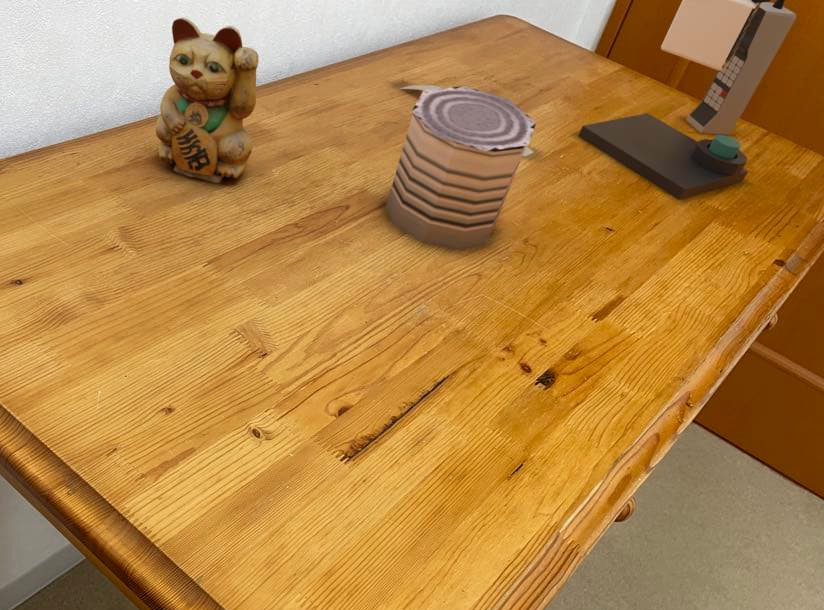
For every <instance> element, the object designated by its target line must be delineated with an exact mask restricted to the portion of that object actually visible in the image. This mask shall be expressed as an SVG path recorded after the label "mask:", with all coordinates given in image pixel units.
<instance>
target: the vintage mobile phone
mask: <svg viewBox="0 0 824 610" xmlns="http://www.w3.org/2000/svg"><path fill="white" fill-rule="evenodd" d="M785 1H786V0H776V1H775V2H770V1H769V2H763V3H761V4H760V6H759V8H758V10H757V12H756V14H755V16H754V18H753V20H752V21H751V23H750V25H749V27H748V29H747V31H746V33H745V35H744V37H743V39H742V40H741V42H740V44H739V46H738V48H737V50H736V52H735V54H734V55H733V57H732V58H731V59H730V61H729V62H728V63H727V64H726V66H725V67H724V68H723V69H722V70H721V71H719V70H717V72H716V73H715V75H714V78H713V80H711V83H710V85H709V87H708V89H707V90H706V92H705V95H704V97H703V98H702V100H701V102H700V103H699V104H698V105H697V106H696V107H695V108H694V109H693V110H692V111H691V112H690V113H689V114H688V116H687V117H686V120H685V121H686V122H687V123H688V124H690V125H691V126H692V127H693V128H695V129H696V130H697V131H698V132H699V133H700V134H712V135H725V136H728V135H729V136H730V135H731V133H732V132H733V131H734V129H735V127H736V125H737V123H738V122H739V119H740V118H741V116H742V114H743V113H744V111H745V109H746V107H747V106H748V104H749V102H750V100H751V98H752V97H753V95H754V94H755V91H756V89H757V88H758V86H759V84H760V83H761V81H762V79H763V77H764V76H765V74H766V72H767V70H768V68H769V67H770V66H771V63H772V61H773V60H774V58H775V56H776V55H777V53H778V51H779V50H780V48H781V46H782V44H783V42H784V40H785V39H786V37H787V35H788V34H789V31H790V30H791V28H792V26H793V24H794V23H795V21H796V19H797V14H796V13H794V12H793V11H791V10H790V9H789V8H787V7H785V6H784V4H785Z"/></svg>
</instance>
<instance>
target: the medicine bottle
mask: <svg viewBox="0 0 824 610" xmlns="http://www.w3.org/2000/svg"><path fill="white" fill-rule="evenodd" d="M760 4H761V3H755V2H753V1H752V0H682V1H681V2H680V5H679V7H678V9H677V11H676V13H675V16H674V18H673V20H672V22H671V24H670V26H669V29H668V31H667V33H666V35H665V37H664V40H663V42H662V44H661V46H660V50H661V51H663V52H666V53H669V54H672V55H675V56H677V57H679V58H683V59H685V60H689V61H691V62H694V63H696V64H699V65H702V66H705V67H707V68H710V69H712V70H716V71H718V70H719V71H721V70H722V69H723V68H724V67H725V66H726V64H727V63H728V62H729V61H730V59H731V58H732V57H733V55H734V54H735V52H736V50H737V48H738V46H739V44H740V42H741V40H742V39H743V37H744V35H745V33H746V31H747V29H748V27H749V25H750V23H751V21H752V20H753V18H754V16H755V14H756V12H757V10H758V8H759V6H760Z"/></svg>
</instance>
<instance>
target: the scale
mask: <svg viewBox="0 0 824 610" xmlns="http://www.w3.org/2000/svg"><path fill="white" fill-rule="evenodd" d="M577 136H578V138H580V139H582V140H583V141H584V142H587V143H588V144H589V145H591V146H593V147H595V148H596V149H598V150H599V151H601V152H602V153H604V154H606V155H607V156H609V157H610V158H611V159H613V160H615V161H616V162H618V163H619V164H621V165H622V166H624V167H626V168H628V169H629V170H630V171H632V172H634V173H636V174H638V175H639V176H641V177H642V178H644V179H645V180H647V181H648V182H650V183H652V184H653V185H655V186H656V187H658V188H660V189H661V190H663V191H664V192H666V193H667V194H669V195H671V196H672V197H673V198H675V199H677V200H678V201H680V200H685V199H687V198H690V197H693V196H698V195H700V194H704V193H708V192H711V191H715V190H718V189H722V188H725V187H728V186H731V185H735V184H739V183H742V182H743V181H744V180H745V178H746V176H747V175H748V173H749V170H748V169H746V168H745V166H746V164H747V161H748V157H747V156H746V155H745V153H744V152H742V150H740V149H739V150H738V152H737V154H736V156H735V157H734V159H727V158H724V157H721V156H718V155H716V154H714V153H712V152H711V151H710V150H709V149H708V148H709V147H710V145H711V143H712V141H713V139H709V138H703V139H699V140H698V141H697V140H695V139H693V138H692V137H690V136H688V135H686V134H685V133H683V132H681V131H679V130H678V129H676V128H674V127H673V126H671V125H669V124H667V123H666V122H665V121H662V120H661V119H659V118H658V117H655V116H654V115H652V114H650V113H649V112H647V113H640V114H635V115H630V116H626V117H621V118H615V119H609V120H605V121H600V122H595V123H589V124H585V125H582V126H581V129H580V131H579V133H578V135H577Z"/></svg>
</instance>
